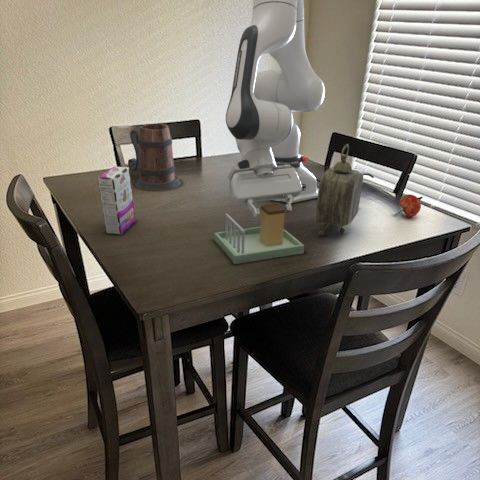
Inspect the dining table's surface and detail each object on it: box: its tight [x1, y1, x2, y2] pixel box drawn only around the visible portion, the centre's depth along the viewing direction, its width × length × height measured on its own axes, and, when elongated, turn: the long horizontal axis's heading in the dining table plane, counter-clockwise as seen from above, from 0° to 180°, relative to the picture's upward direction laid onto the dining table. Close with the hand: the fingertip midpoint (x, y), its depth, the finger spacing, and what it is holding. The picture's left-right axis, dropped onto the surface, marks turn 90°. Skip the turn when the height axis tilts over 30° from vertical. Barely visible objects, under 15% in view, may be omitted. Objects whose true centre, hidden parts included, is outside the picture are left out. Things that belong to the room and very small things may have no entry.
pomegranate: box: [393, 193, 424, 218], centre depth 153 cm, size 7×7×10 cm
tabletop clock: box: [315, 143, 364, 237], centre depth 135 cm, size 14×9×25 cm, turn 155°
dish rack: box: [213, 213, 305, 265], centre depth 130 cm, size 20×16×8 cm
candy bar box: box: [97, 165, 136, 235], centre depth 137 cm, size 11×5×16 cm, turn 168°
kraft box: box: [259, 203, 286, 247], centre depth 130 cm, size 5×5×10 cm
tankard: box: [127, 123, 182, 192], centre depth 174 cm, size 24×17×20 cm
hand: (273, 213), depth 129 cm, fingers open, 8 cm apart
